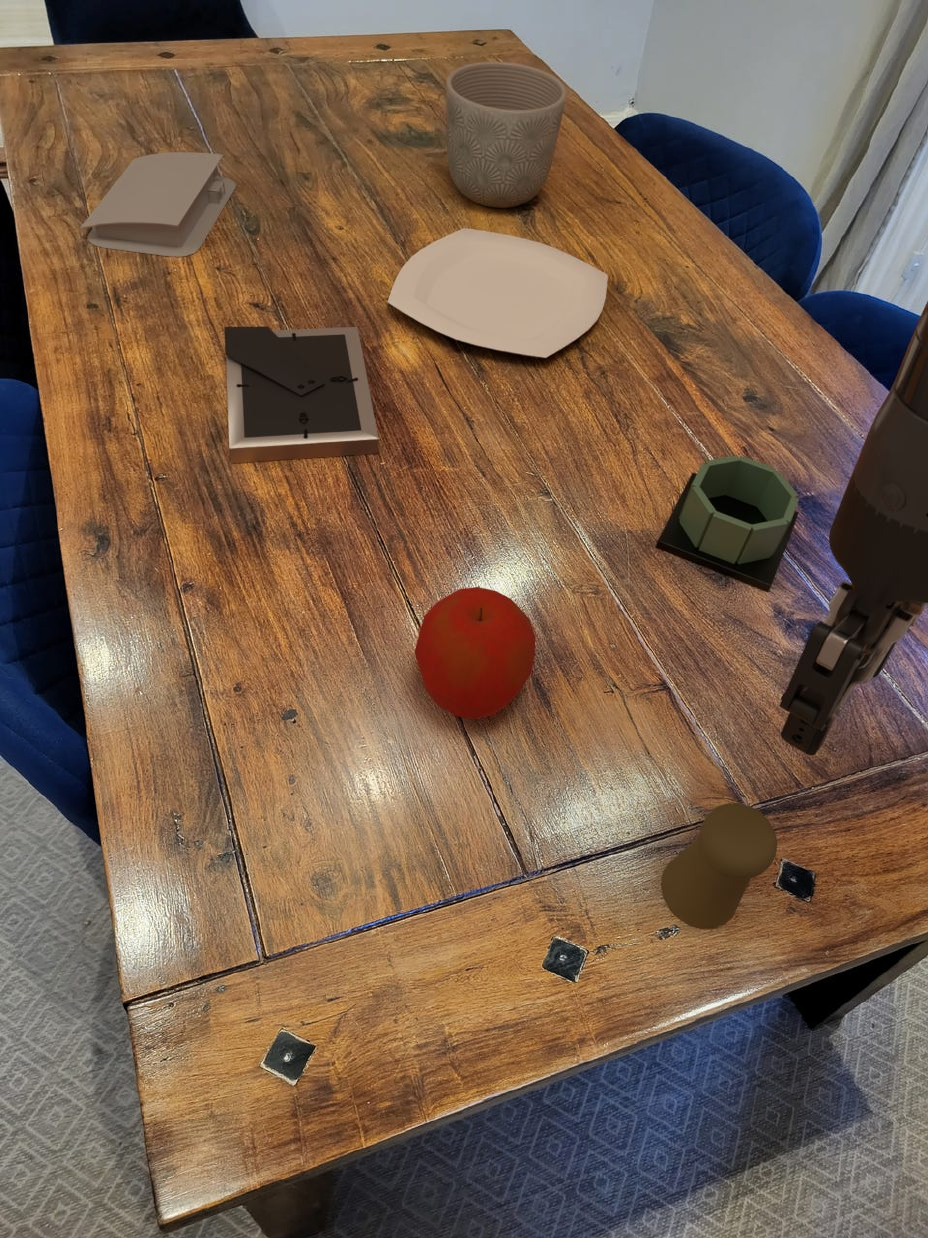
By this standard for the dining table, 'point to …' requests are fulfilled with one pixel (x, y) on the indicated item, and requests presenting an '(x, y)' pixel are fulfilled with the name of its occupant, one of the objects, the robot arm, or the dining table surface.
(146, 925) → the dining table surface
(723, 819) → the cork
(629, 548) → the dining table surface
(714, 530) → the cup holder
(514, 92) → the planter
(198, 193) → the book
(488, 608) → the apple
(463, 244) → the plate
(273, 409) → the face-down photo frame
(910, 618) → the robot arm
